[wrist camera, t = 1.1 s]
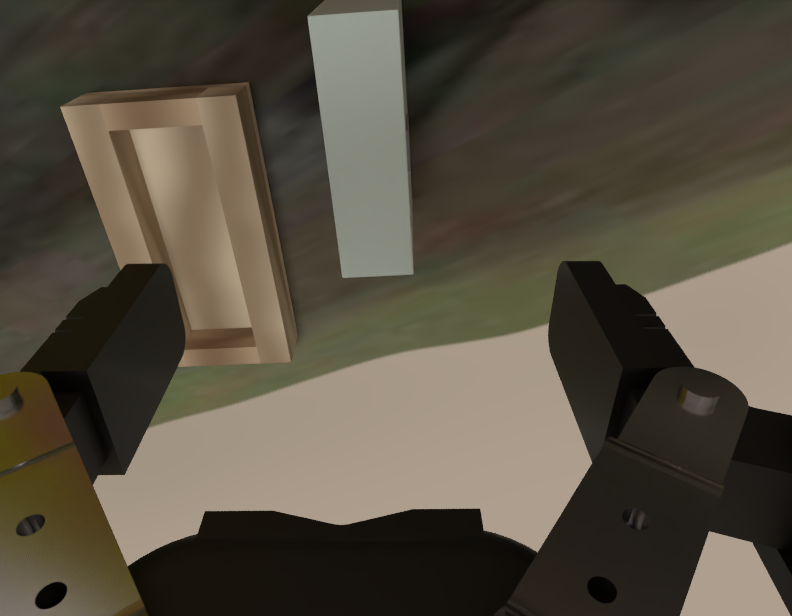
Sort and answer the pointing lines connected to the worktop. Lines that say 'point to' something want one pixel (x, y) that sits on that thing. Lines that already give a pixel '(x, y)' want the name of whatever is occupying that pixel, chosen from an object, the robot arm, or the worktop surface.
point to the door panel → (365, 132)
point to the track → (192, 210)
